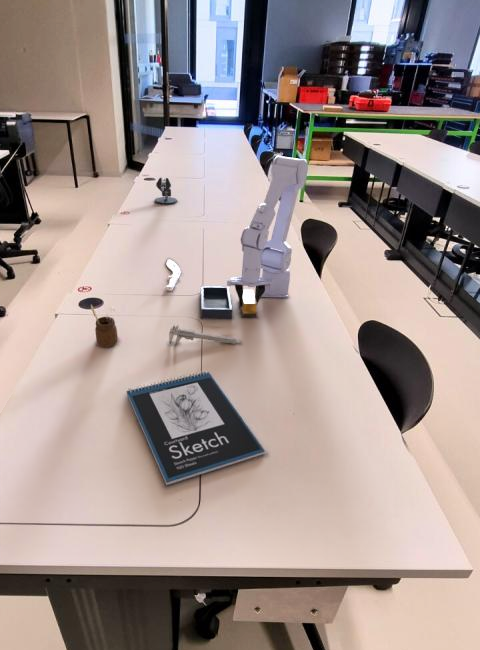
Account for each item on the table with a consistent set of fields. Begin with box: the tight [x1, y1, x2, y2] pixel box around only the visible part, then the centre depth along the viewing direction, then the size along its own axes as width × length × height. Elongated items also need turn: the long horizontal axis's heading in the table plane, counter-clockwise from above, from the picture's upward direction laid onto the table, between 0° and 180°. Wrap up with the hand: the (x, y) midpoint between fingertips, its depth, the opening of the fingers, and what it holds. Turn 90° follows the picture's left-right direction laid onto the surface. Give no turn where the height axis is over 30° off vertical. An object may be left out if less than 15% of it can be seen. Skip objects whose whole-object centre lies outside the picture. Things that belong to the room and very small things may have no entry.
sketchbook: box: [126, 370, 266, 486], centre depth 98 cm, size 22×30×2 cm
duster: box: [239, 289, 258, 319], centre depth 143 cm, size 5×11×5 cm, turn 1°
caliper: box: [168, 324, 241, 345], centre depth 125 cm, size 20×1×6 cm, turn 94°
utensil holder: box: [90, 304, 119, 348], centre depth 122 cm, size 6×6×12 cm
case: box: [200, 285, 233, 320], centre depth 144 cm, size 10×17×3 cm, turn 2°
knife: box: [163, 258, 182, 292], centre depth 165 cm, size 30×2×8 cm
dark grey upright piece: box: [154, 176, 178, 206], centre depth 242 cm, size 13×20×13 cm, turn 1°
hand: (247, 305), depth 143 cm, fingers closed on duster, 4 cm apart
